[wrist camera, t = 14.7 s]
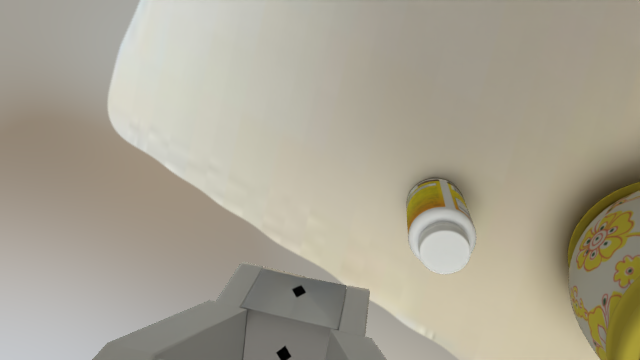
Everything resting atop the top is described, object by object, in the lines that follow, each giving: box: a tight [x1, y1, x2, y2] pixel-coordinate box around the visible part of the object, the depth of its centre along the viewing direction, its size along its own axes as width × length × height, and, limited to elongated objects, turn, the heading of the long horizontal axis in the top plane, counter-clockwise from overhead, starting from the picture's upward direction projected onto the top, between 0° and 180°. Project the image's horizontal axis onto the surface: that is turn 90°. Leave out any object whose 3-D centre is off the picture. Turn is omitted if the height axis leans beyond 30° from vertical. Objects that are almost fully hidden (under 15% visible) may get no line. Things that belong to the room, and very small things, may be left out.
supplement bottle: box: [406, 179, 476, 274], centre depth 39 cm, size 6×6×10 cm
